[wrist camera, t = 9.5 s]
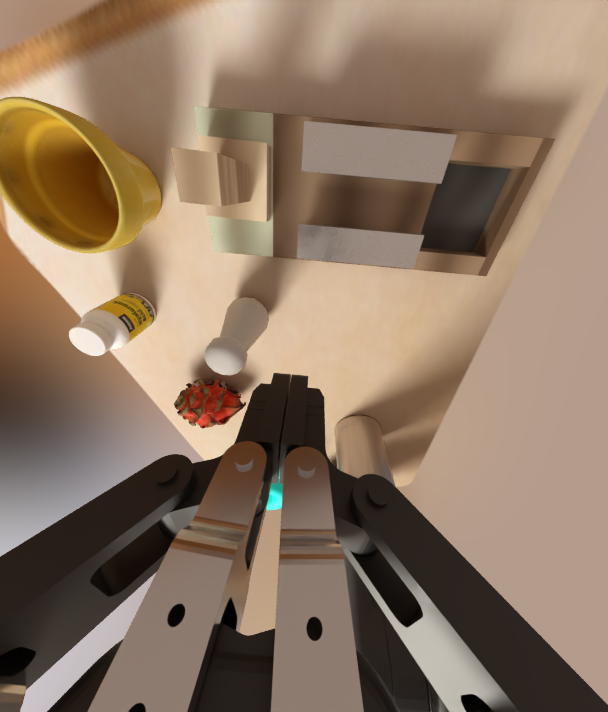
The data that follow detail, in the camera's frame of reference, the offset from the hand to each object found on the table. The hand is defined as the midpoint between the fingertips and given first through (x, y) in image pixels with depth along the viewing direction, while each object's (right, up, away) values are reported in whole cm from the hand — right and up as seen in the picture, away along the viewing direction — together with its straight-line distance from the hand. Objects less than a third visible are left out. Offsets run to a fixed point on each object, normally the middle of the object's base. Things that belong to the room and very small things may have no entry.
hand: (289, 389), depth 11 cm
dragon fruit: (-15, -4, +34) cm, 38 cm away
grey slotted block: (+6, +17, +14) cm, 23 cm away
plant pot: (-19, +21, +17) cm, 33 cm away
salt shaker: (-7, +8, +25) cm, 27 cm away
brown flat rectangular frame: (+7, +19, +16) cm, 26 cm away
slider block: (-6, +19, +13) cm, 24 cm away
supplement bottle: (-24, +9, +25) cm, 36 cm away
